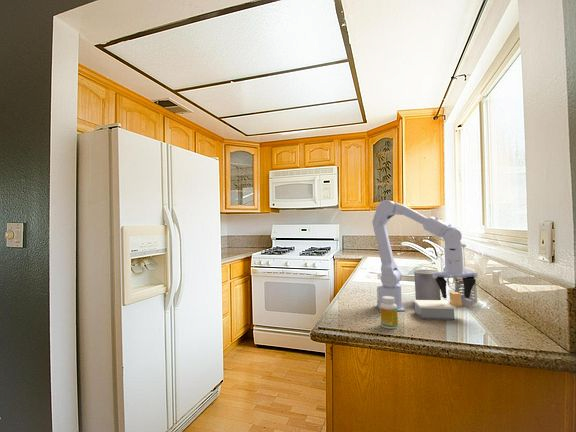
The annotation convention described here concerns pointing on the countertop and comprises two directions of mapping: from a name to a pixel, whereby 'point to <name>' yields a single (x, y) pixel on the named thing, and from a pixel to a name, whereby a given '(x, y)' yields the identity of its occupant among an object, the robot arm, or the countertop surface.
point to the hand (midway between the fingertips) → (455, 297)
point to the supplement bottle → (389, 313)
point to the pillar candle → (426, 285)
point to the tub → (434, 313)
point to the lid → (442, 302)
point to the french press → (465, 301)
